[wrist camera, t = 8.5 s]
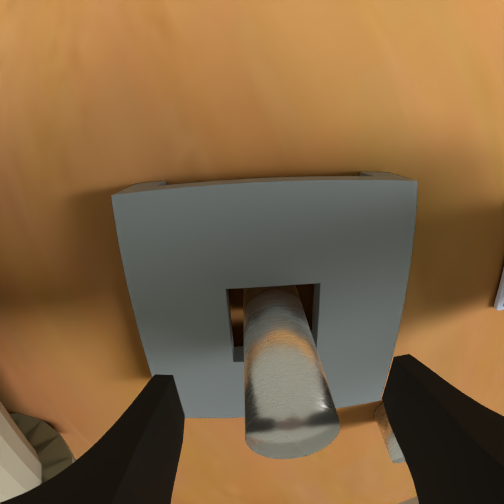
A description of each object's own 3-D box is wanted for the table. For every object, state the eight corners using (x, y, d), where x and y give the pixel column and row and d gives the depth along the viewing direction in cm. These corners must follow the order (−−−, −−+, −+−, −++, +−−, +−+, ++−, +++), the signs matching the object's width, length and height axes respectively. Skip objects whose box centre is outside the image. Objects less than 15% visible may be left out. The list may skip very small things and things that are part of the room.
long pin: (297, 266, 15) (351, 403, 7) (290, 312, 16) (327, 456, 8) (245, 263, 15) (249, 405, 7) (241, 309, 16) (242, 459, 8)
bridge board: (387, 172, 14) (418, 181, 11) (364, 368, 18) (379, 400, 15) (135, 183, 14) (111, 195, 11) (174, 381, 18) (166, 416, 15)
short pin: (408, 394, 19) (431, 437, 15) (400, 415, 20) (419, 457, 16) (377, 401, 19) (397, 447, 15) (370, 422, 20) (387, 466, 16)
